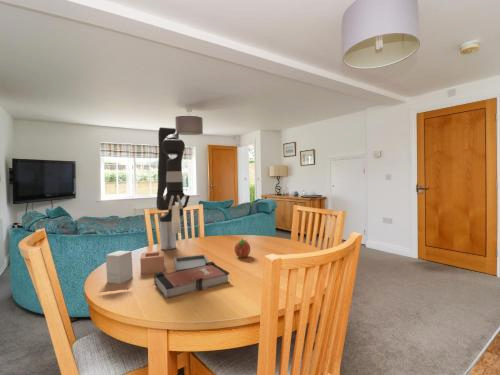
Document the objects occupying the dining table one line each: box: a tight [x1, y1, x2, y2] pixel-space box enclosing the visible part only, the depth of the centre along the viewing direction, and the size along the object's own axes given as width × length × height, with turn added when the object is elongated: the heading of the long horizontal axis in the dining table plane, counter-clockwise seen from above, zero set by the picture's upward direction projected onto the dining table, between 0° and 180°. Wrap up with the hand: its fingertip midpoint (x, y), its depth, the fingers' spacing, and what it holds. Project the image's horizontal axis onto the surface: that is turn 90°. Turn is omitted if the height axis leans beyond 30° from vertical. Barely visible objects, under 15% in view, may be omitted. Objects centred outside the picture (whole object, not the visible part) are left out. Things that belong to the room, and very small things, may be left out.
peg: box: [171, 204, 182, 234], centre depth 132 cm, size 4×4×13 cm
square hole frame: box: [139, 250, 165, 275], centre depth 129 cm, size 10×10×8 cm
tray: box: [173, 254, 210, 271], centre depth 135 cm, size 20×16×2 cm
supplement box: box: [105, 250, 134, 285], centre depth 116 cm, size 7×7×13 cm
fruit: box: [234, 238, 251, 259], centre depth 149 cm, size 9×10×10 cm
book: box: [153, 261, 230, 300], centre depth 113 cm, size 26×18×5 cm
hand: (175, 216), depth 132 cm, fingers closed on peg, 4 cm apart
